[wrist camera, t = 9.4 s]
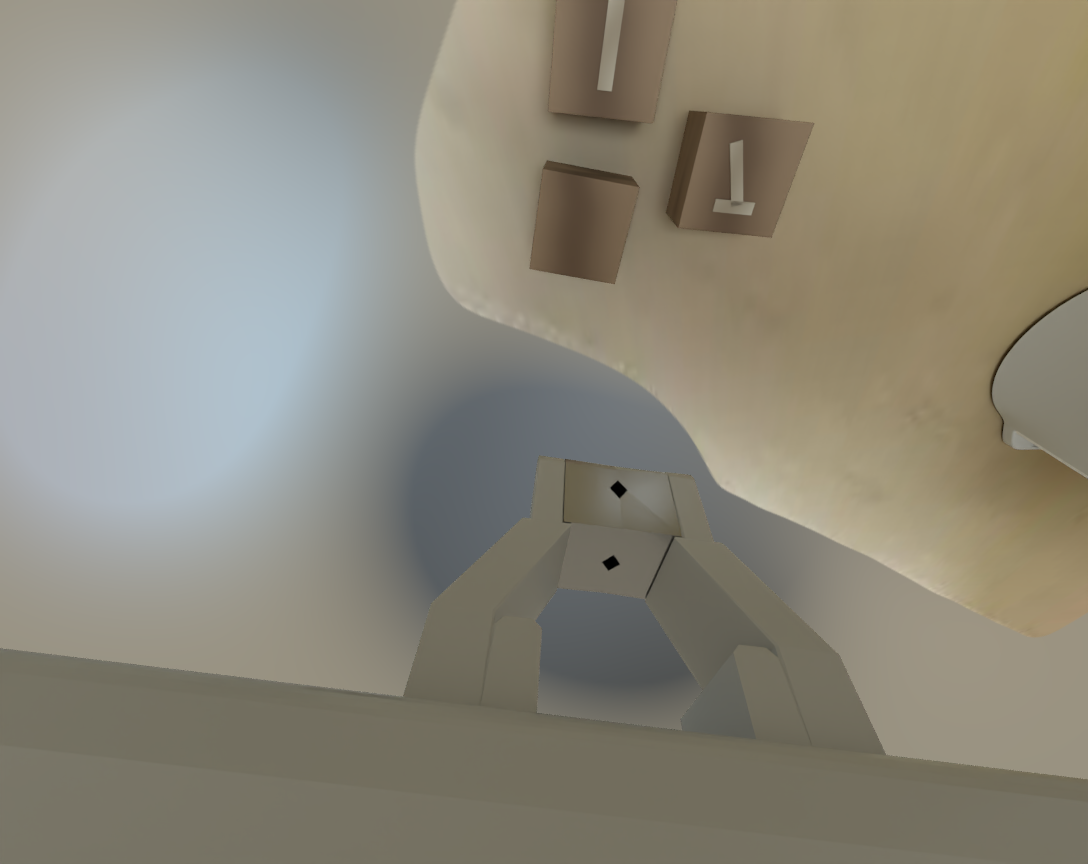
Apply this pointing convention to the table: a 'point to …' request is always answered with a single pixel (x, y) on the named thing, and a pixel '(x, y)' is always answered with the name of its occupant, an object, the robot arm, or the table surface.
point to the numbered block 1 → (609, 57)
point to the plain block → (582, 221)
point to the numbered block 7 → (735, 172)
